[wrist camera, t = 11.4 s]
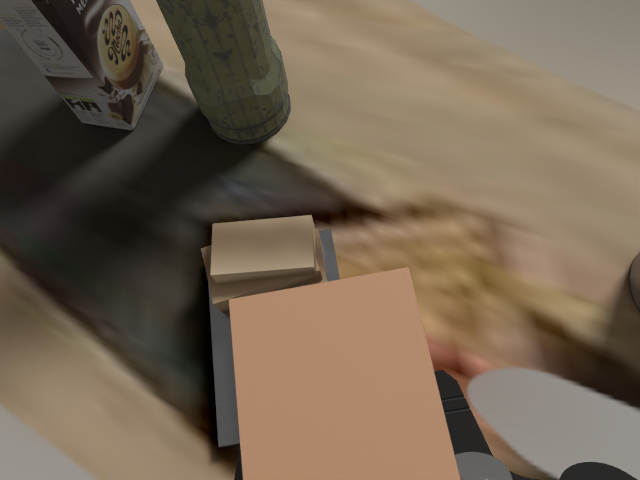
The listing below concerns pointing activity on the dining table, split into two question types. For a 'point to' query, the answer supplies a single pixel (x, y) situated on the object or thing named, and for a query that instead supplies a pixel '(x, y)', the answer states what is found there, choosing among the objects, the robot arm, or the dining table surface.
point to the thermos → (231, 66)
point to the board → (338, 384)
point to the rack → (225, 360)
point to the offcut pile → (262, 257)
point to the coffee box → (89, 55)
